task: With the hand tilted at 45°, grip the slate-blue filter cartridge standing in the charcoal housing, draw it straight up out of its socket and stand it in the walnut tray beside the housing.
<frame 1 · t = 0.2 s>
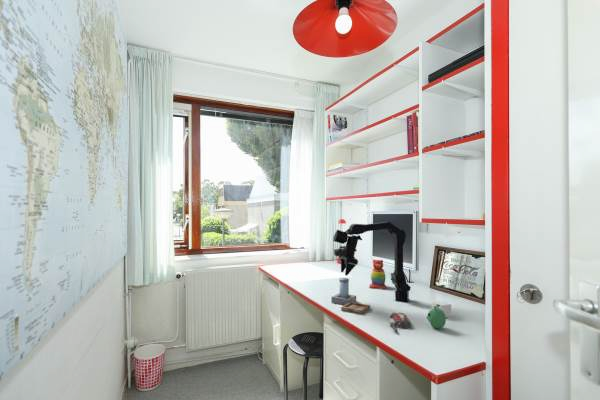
hand: (343, 273, 177), 16 cm above the table, tool tilted 15°, fingers open, 9 cm apart
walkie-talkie: (399, 326, 141), on the table
alien toy: (436, 328, 138), on the table
adhesive note: (441, 316, 155), on the table
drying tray: (355, 309, 163), on the table
filter cartridge: (344, 290, 177), in the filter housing
stacking bear: (378, 287, 211), on the table
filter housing: (344, 301, 177), on the table
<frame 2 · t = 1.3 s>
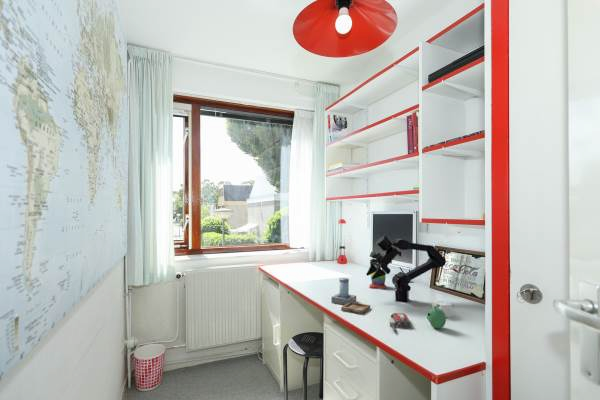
hand: (369, 276, 178), 14 cm above the table, tool tilted 45°, fingers open, 9 cm apart
nothing on the table moved.
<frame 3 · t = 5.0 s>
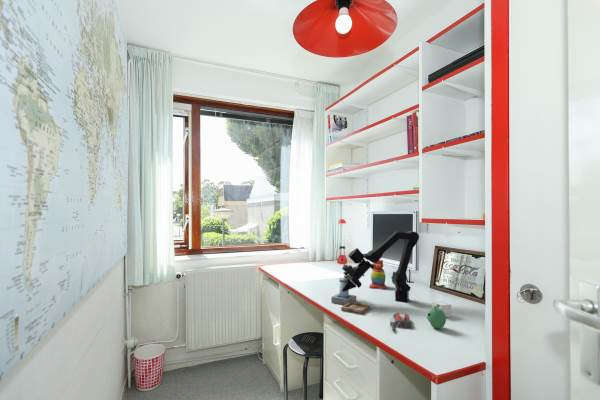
hand: (341, 289, 177), 7 cm above the table, tool tilted 45°, fingers closed on filter cartridge, 5 cm apart
filter cartridge: (344, 290, 177), in the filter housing, touching gripper
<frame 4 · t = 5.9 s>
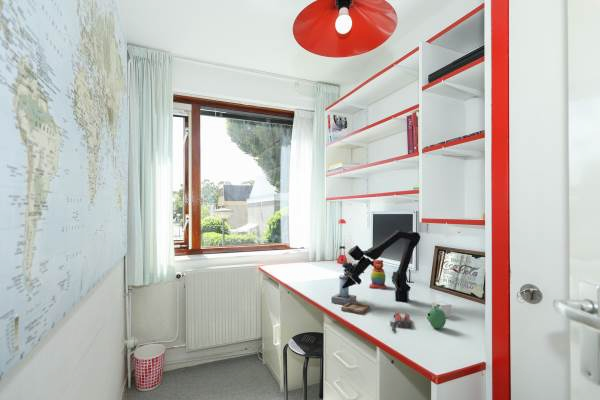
hand: (341, 286, 177), 8 cm above the table, tool tilted 45°, fingers closed on filter cartridge, 5 cm apart
filter cartridge: (344, 287, 177), point 8 cm above the table, touching gripper
everything else where it was.
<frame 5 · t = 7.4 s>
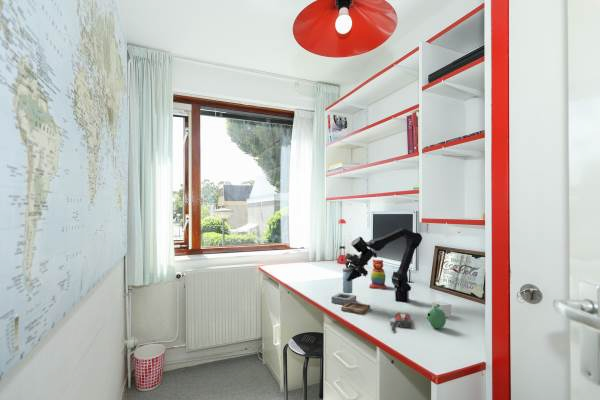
hand: (345, 279, 171), 13 cm above the table, tool tilted 45°, fingers closed on filter cartridge, 5 cm apart
filter cartridge: (347, 280, 171), point 13 cm above the table, touching gripper
when the fingers open (9 cm above the table, at t = 9.8 s): filter cartridge drops 1 cm, resting on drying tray.
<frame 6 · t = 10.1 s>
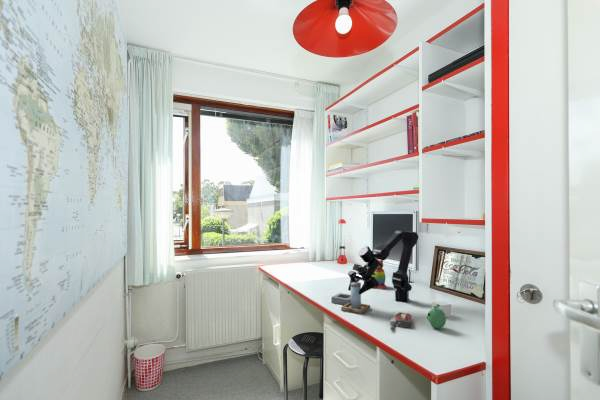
hand: (353, 292, 163), 9 cm above the table, tool tilted 45°, fingers open, 8 cm apart
filter cartridge: (355, 295, 163), in the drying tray, point 7 cm above the table
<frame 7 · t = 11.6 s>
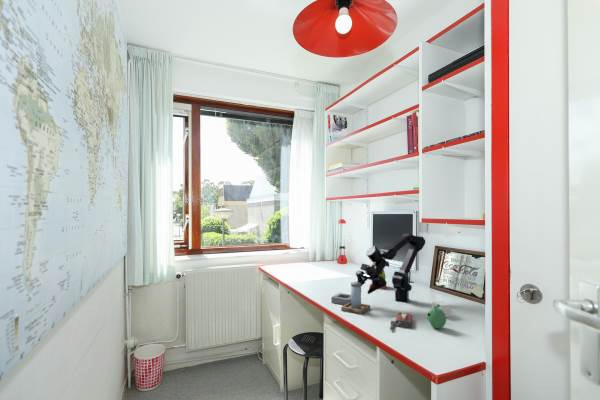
hand: (361, 291, 166), 9 cm above the table, tool tilted 45°, fingers open, 9 cm apart
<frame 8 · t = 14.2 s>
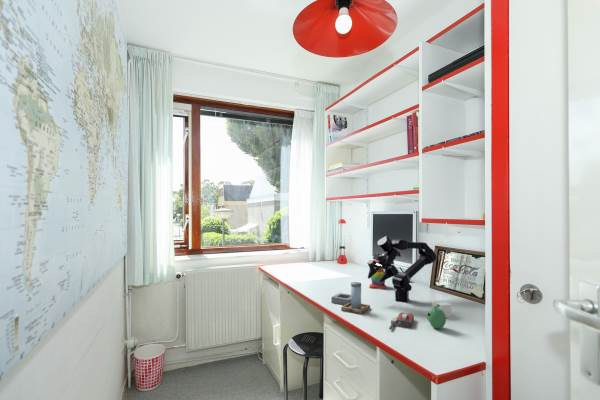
hand: (374, 279, 171), 14 cm above the table, tool tilted 45°, fingers open, 9 cm apart
at the end: filter cartridge 0.1 cm off-centre on the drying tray, point 7.0 cm above the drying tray's base; filter cartridge tilted 0°; filter cartridge touching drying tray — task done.
